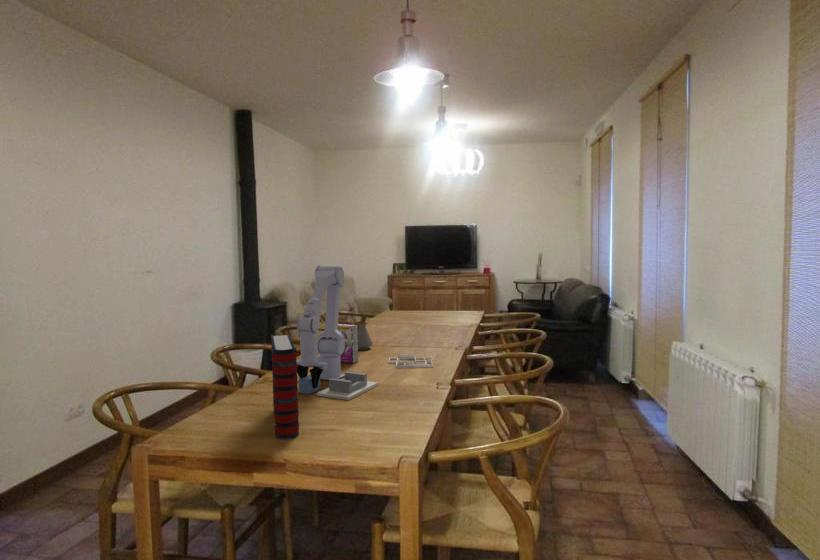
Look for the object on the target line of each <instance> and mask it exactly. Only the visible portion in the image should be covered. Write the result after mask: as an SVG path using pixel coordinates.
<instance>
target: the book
mask: <svg viewBox="0 0 820 560" xmlns="http://www.w3.org/2000/svg"><path fill="white" fill-rule="evenodd" d="M291 336H292V335H291V334H290V333H287V334H285V335H284V334H283V335H273V334H270V341H271V342H270V343H271V344H270V345H271V347H270V348H271V349H270V350H271V370H272V373H271V374H272V376H271V377H272V398H273V399H272V400H273V403H272V405H273V417H274V424H275V425H274V426H273V428H274V434H275V438H276V439H278V440H290V439H294V438H296V437H299V436H300V435H299V434H300V422H299V418H300V417H299V416H300V415H299V413H300V412H299V398H298V394H299V393H298V392H299V386H298V383H297V381H298V378H299V375H298V374H297V363H296V360H298V359H297V358H298V357H297V356H298V351H297V347H296V346H295V344H294V342H293V339H292V337H291Z"/></svg>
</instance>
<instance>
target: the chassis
mask: <svg viewBox="0 0 820 560" xmlns="http://www.w3.org/2000/svg"><path fill="white" fill-rule="evenodd" d="M344 375H345V376H344V377H343V378H339V379H334V378H331V379H329V380H328V387H326V388H325V389H323V390H320V391H318V392H317V393H316V396H318V397H324V398H330V399H338V400H343V401H344V400H345V401H351V400H353V399H354V398H356V397H358V396H360V395H362V394H364V393H366V392H367V391H370V390H371V389H373V388H375V387H377V386H379V382H377V381H376V382H375V381H370V380H368V374H367V373H362V372H354V371H346V372H344Z"/></svg>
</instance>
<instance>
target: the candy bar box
mask: <svg viewBox="0 0 820 560" xmlns="http://www.w3.org/2000/svg"><path fill="white" fill-rule="evenodd" d="M338 331H339V332H340V333H341V334H343V336H344V343H345V349H344V352H343V353H342V355H340V362H341V363H345V364H346V363H347V364H355V363H357V362H359V350H358V326H357V325H354V324H344V323H338ZM330 338H331V339H337V338H335V337H330Z"/></svg>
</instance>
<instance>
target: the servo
mask: <svg viewBox="0 0 820 560" xmlns="http://www.w3.org/2000/svg"><path fill="white" fill-rule="evenodd" d="M320 378H322V376H320ZM320 378H319V382H318V387H316V388H313V387H312V377H311V373H309V374H308V376H305V377H303V378H299V379H298V380H297V385H298V392H299V393H298V394H304V395H309V394H312V393H314V392H317V391H318V390H321V379H320Z"/></svg>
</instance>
